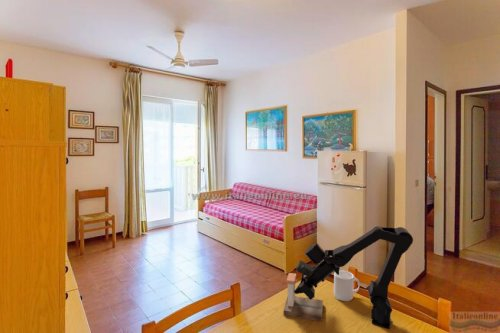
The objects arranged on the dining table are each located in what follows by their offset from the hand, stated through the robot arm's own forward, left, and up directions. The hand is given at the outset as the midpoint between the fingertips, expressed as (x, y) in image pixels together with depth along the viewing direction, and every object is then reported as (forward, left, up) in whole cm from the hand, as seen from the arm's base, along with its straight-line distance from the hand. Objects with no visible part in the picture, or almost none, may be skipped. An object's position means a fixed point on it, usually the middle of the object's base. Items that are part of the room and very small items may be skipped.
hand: (294, 292), depth 122 cm
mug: (-17, -21, -7) cm, 28 cm away
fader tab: (+1, 0, -5) cm, 5 cm away
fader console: (-4, -1, -7) cm, 8 cm away
